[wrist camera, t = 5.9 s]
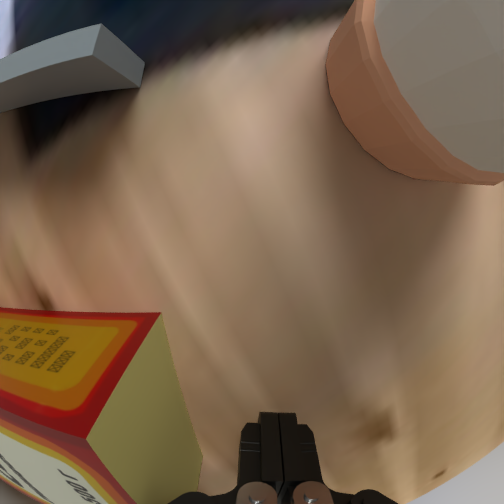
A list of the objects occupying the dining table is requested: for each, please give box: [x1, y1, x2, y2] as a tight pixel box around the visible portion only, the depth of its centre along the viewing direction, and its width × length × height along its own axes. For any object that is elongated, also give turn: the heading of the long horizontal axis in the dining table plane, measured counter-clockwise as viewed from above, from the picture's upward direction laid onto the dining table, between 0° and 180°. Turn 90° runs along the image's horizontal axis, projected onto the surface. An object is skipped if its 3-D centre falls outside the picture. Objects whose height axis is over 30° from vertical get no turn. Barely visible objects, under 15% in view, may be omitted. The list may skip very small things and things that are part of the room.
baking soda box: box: [0, 307, 203, 504], centre depth 9 cm, size 10×6×16 cm
